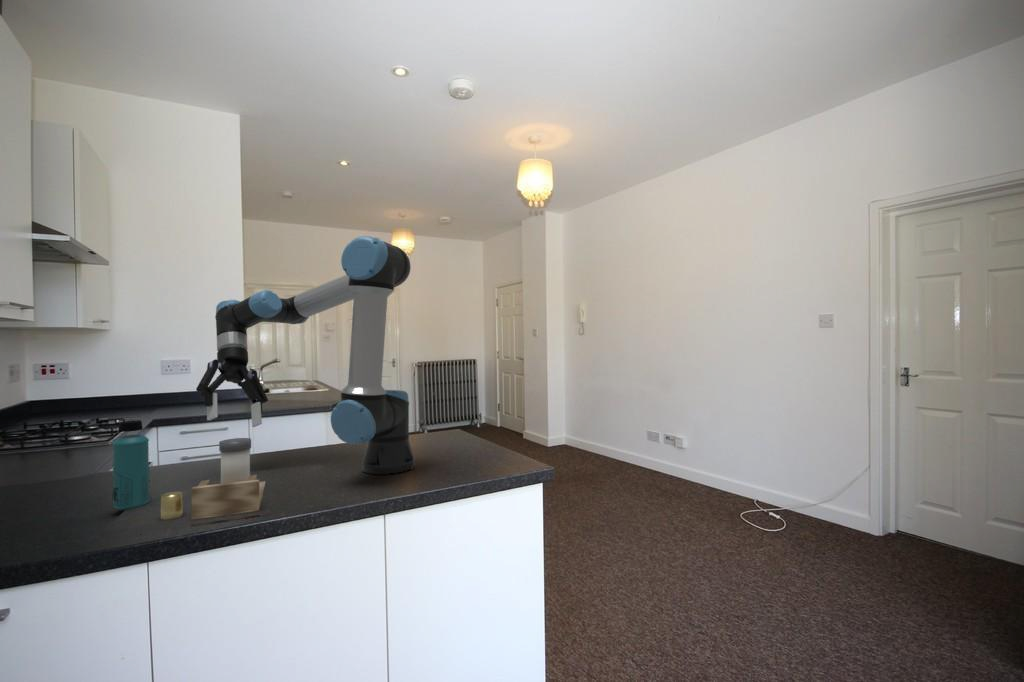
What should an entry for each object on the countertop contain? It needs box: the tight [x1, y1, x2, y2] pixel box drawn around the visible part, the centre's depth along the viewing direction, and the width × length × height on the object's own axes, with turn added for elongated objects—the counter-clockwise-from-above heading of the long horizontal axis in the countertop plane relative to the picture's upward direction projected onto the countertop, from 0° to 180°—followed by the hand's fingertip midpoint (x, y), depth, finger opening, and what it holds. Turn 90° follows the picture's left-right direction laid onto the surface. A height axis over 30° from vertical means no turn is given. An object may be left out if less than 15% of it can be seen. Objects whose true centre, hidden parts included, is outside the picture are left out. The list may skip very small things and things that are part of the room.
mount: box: [190, 474, 266, 528], centre depth 108 cm, size 12×24×8 cm, turn 24°
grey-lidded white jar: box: [218, 437, 252, 484], centre depth 113 cm, size 7×7×12 cm
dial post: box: [160, 491, 183, 520], centre depth 97 cm, size 4×4×6 cm
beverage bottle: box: [111, 419, 151, 510], centre depth 104 cm, size 6×7×20 cm
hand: (235, 422), depth 126 cm, fingers open, 13 cm apart
